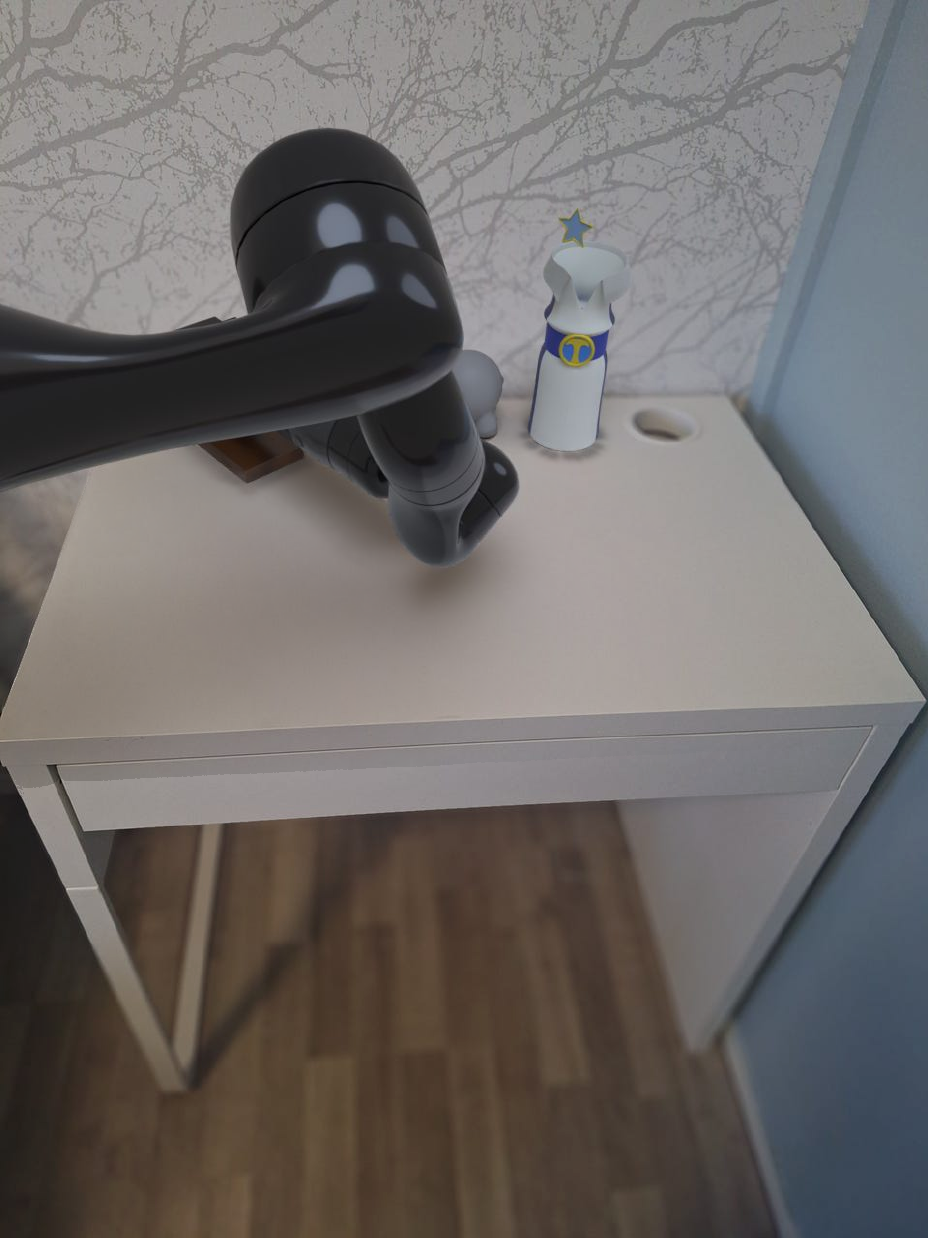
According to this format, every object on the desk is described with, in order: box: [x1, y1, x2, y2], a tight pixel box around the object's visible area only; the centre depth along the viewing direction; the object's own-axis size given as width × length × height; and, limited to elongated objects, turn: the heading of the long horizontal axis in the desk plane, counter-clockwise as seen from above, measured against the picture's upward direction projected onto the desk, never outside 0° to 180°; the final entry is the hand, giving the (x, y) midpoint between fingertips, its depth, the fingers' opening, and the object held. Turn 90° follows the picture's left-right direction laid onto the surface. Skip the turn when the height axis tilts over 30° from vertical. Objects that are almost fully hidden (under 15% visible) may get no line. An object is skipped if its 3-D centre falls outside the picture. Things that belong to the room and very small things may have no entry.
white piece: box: [527, 207, 633, 452], centre depth 91 cm, size 8×9×25 cm
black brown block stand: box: [172, 316, 305, 484], centre depth 92 cm, size 7×13×10 cm, turn 44°
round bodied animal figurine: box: [452, 349, 505, 439], centre depth 97 cm, size 7×12×8 cm, turn 89°
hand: (218, 340), depth 89 cm, fingers closed on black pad, 4 cm apart
